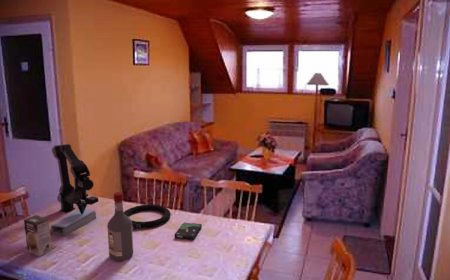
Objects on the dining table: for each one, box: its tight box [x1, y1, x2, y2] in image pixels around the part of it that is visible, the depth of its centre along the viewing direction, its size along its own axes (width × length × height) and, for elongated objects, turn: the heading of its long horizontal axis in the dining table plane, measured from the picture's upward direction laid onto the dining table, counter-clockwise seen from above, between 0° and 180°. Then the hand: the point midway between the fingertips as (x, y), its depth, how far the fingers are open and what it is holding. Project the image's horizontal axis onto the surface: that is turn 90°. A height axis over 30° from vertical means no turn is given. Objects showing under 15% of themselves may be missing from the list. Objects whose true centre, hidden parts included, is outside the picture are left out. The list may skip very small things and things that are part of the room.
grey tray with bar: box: [50, 211, 97, 237], centre depth 188 cm, size 9×23×4 cm, turn 160°
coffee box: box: [23, 214, 52, 257], centre depth 161 cm, size 9×6×16 cm
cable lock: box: [124, 204, 171, 232], centre depth 197 cm, size 28×4×30 cm
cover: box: [50, 208, 96, 228], centre depth 188 cm, size 9×22×1 cm, turn 160°
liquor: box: [106, 191, 134, 263], centre depth 156 cm, size 9×9×30 cm
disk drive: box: [174, 221, 203, 241], centre depth 182 cm, size 10×3×15 cm
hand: (82, 213), depth 192 cm, fingers closed, pressing on cover
